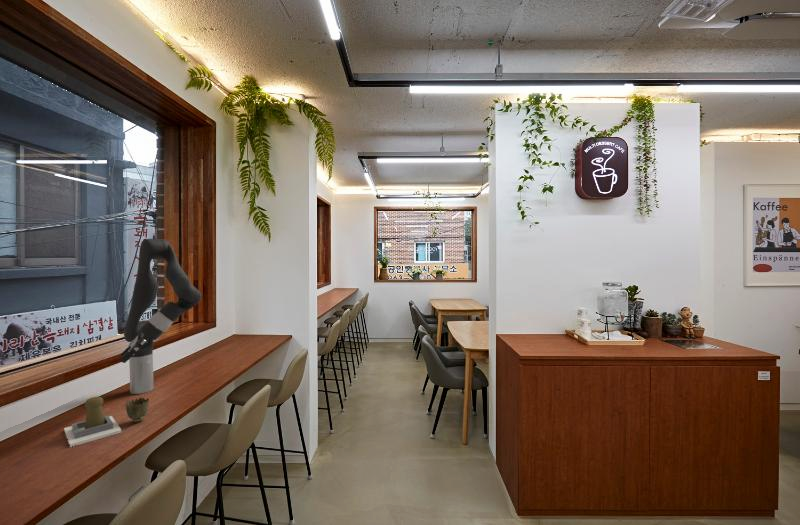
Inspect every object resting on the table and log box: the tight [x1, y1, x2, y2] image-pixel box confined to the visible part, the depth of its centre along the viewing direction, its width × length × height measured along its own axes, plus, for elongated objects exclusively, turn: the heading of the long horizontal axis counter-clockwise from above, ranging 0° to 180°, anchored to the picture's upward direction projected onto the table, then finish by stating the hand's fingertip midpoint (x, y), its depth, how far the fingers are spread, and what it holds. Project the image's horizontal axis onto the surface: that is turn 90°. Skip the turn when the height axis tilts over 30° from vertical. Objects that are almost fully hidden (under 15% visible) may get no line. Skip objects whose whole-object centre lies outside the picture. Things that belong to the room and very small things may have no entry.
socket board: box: [63, 414, 122, 448], centre depth 137 cm, size 18×14×3 cm
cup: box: [125, 397, 150, 424], centre depth 145 cm, size 8×7×8 cm
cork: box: [84, 396, 105, 429], centre depth 138 cm, size 6×6×11 cm
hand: (122, 359), depth 143 cm, fingers open, 8 cm apart
